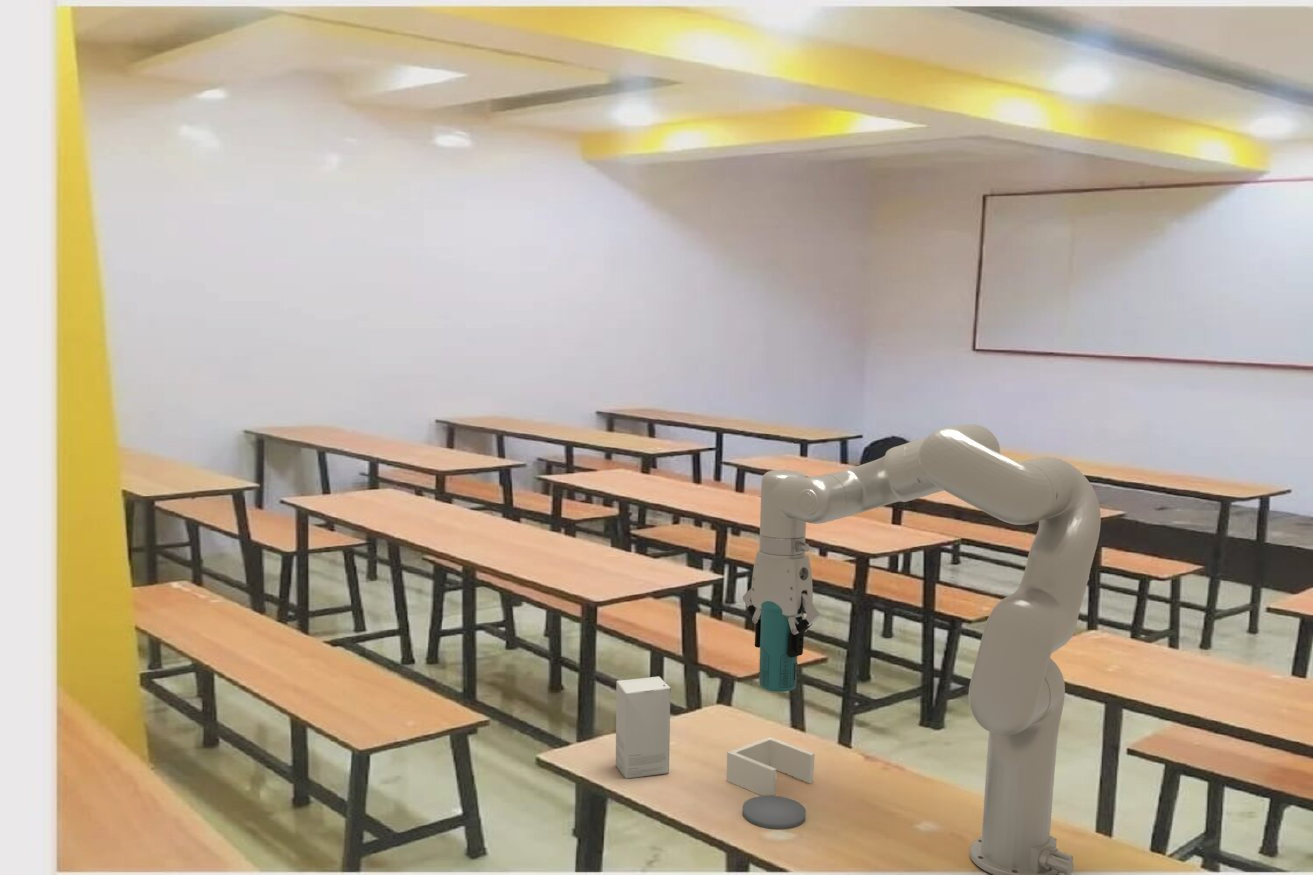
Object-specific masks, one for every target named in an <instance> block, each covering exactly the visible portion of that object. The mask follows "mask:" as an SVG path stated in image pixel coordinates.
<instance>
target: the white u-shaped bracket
mask: <svg viewBox="0 0 1313 875" xmlns="http://www.w3.org/2000/svg"><path fill="white" fill-rule="evenodd" d="M726 753H727V755H726V773H725V774H726V777H725V778H726V779H725V780H726V782H729V783H732V784H734V785H736V786H738V787H741V788H743V789H745V790H747V791H749V792H752V793H753V794H757V795H759V796H776V788H777V787H776V786H777V781H776V780H777V772H781V773H783V774H785V773H787V774H788V776H790V775H791V776H790V777H792V776H793V777H792V778H795V779H797V780H799V781H802V780H803V782H805V783H808V784H812V783H814V773H815V772H814V771H815V753H814V752H811V751H808V750H806V749H803V748H801V747H798V746H796V745H792V744H790V743H787V742H784V741H783V740H780V739H777V738H773V737H771V736H768V737H765V738H763V739H759V740H757V741H755V742H754V741H753V742H752V743H748V744H746V745H744V746H743V745H742V746H741V747H738V748H735V749H733V750H729V751H727V752H726ZM787 774H786V775H787Z"/></svg>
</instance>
